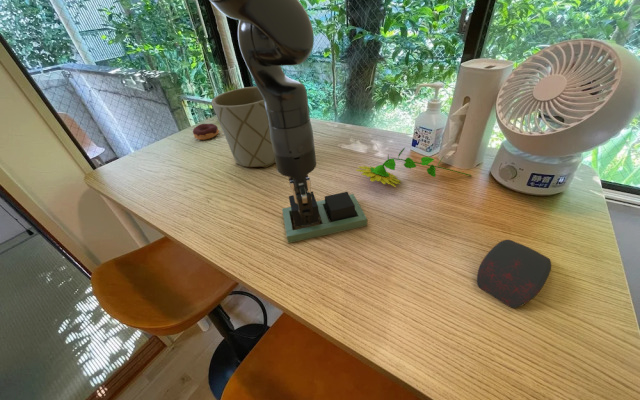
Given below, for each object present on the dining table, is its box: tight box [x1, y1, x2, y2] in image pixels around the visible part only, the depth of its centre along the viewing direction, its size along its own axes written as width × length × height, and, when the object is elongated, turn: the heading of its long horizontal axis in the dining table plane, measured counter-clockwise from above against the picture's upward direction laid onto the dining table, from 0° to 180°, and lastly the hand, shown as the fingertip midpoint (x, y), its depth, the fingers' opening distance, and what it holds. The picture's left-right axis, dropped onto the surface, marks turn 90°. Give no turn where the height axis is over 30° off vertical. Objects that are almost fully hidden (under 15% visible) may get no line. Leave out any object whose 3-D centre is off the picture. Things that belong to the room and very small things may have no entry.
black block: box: [288, 190, 321, 228], centre depth 55 cm, size 5×5×4 cm
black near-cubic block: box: [324, 191, 355, 222], centre depth 57 cm, size 5×5×4 cm
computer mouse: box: [476, 239, 552, 309], centre depth 42 cm, size 8×14×4 cm, turn 130°
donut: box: [192, 123, 220, 141], centre depth 103 cm, size 10×10×4 cm
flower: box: [355, 147, 472, 188], centre depth 65 cm, size 12×9×30 cm
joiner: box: [281, 193, 368, 244], centre depth 57 cm, size 10×18×2 cm, turn 103°
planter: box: [211, 86, 276, 169], centre depth 79 cm, size 19×19×20 cm
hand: (304, 215), depth 56 cm, fingers closed on black block, 5 cm apart
